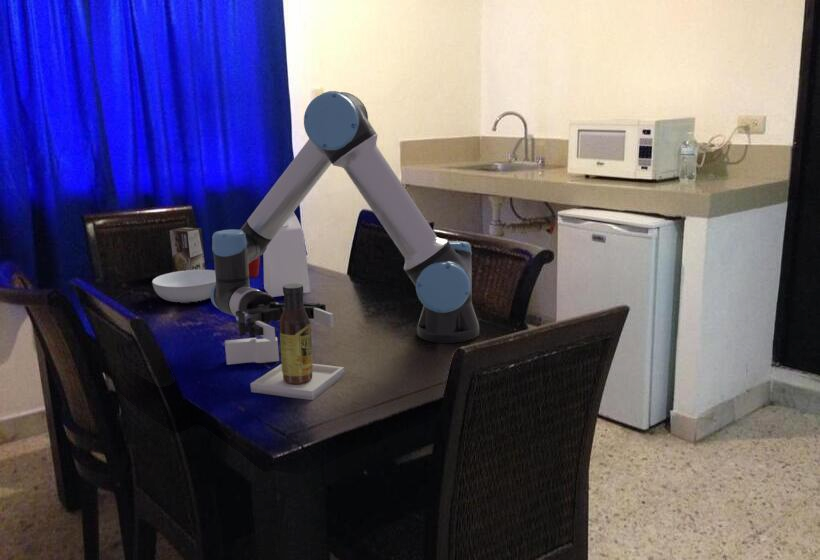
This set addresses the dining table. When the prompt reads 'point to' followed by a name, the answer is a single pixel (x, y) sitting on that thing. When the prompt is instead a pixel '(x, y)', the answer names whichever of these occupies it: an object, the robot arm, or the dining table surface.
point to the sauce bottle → (295, 337)
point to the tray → (309, 390)
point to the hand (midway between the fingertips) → (303, 327)
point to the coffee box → (187, 249)
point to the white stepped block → (251, 351)
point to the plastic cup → (254, 268)
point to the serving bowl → (185, 285)
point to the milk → (286, 259)
